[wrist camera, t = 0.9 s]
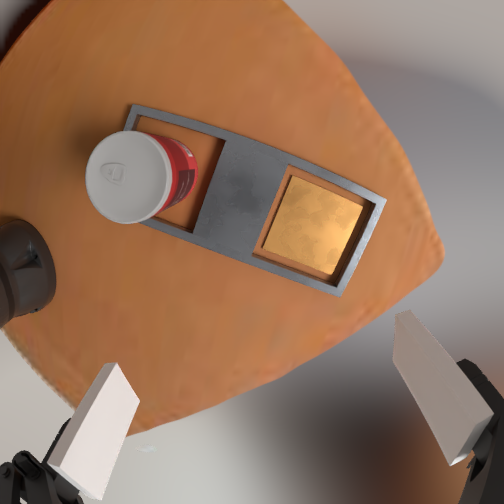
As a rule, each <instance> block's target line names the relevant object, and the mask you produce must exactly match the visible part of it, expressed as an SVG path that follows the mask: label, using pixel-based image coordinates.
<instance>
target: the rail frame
mask: <svg viewBox="0 0 504 504" xmlns="http://www.w3.org/2000/svg"><path fill="white" fill-rule="evenodd" d="M141 115H143V116H146V117H150V118H154V119H158V120H161V121H165V122H169V123H172V124H176V125H179V126H182V127H186V128H189V129H192V130H195V131H199V132H202V133H205V134H208V135H211V136H214V137H217V138H220V139H223V140H226V142H225V145H224V147H223V150H222V152H221V155H220V158H219V160H218V163H217V166H216V168H215V171H214V174H213V177H212V179H211V182H210V185H209V188H208V190H207V193H206V196H205V199H204V202H203V205H202V208H201V210H200V213H199V216H198V219H197V222H196V225H195V228H194V231H192V230H189V229H187V228H184V227H181V226H179V225H176V224H173V223H171V222H168V221H165V220H163V219H160V218H157V217H155V216H153V217H150V218H149V219H146V220H144V221H141V222H138V223H141V224H144V225H146V226H149V227H151V228H154V229H157V230H159V231H162V232H164V233H167V234H170V235H172V236H175V237H178V238H180V239H183V240H185V241H188V242H191V243H193V244H196V245H199V246H201V247H204V248H207V249H209V250H212V251H215V252H217V253H220V254H223V255H225V256H228V257H231V258H233V259H236V260H239V261H241V262H244V263H247V264H249V265H252V266H255V267H258V268H260V269H263V270H266V271H268V272H271V273H274V274H277V275H279V276H282V277H285V278H288V279H290V280H293V281H296V282H299V283H301V284H304V285H307V286H310V287H312V288H315V289H318V290H321V291H323V292H326V293H329V294H332V295H335V296H337V297H341V295H342V293H343V291H344V289H345V287H346V285H347V283H348V281H349V279H350V278H351V276H352V274H353V272H354V270H355V268H356V266H357V264H358V262H359V260H360V258H361V255H362V253H363V251H364V249H365V247H366V245H367V243H368V241H369V239H370V236H371V234H372V232H373V230H374V228H375V225H376V223H377V221H378V219H379V216H380V214H381V212H382V210H383V207H384V205H385V202H386V199H385V198H383V197H381V196H379V195H377V194H375V193H373V192H371V191H369V190H367V189H365V188H363V187H361V186H359V185H357V184H355V183H353V182H351V181H349V180H347V179H345V178H343V177H341V176H339V175H336V174H334V173H332V172H330V171H328V170H326V169H323V168H321V167H319V166H317V165H314V164H312V163H310V162H307V161H305V160H303V159H300V158H298V157H296V156H293V155H291V154H288V153H286V152H283V151H281V150H278V149H276V148H273V147H271V146H268V145H266V144H263V143H260V142H258V141H255V140H252V139H249V138H247V137H244V136H241V135H238V134H235V133H232V132H229V131H226V130H224V129H220V128H217V127H214V126H211V125H208V124H205V123H202V122H198V121H195V120H192V119H188V118H185V117H181V116H178V115H174V114H171V113H167V112H163V111H159V110H156V109H152V108H148V107H143V106H139V105H135V104H133V105H132V108H131V110H130V113H129V116H128V119H127V121H126V124H125V127H124V130H123V131H136V128H137V125H138V122H139V119H140V117H141ZM288 164H290V165H292V166H295V167H297V168H299V169H302V170H304V171H306V172H309V173H311V174H313V175H316V176H318V177H320V178H322V179H325V180H327V181H329V182H331V183H334V184H336V185H338V186H340V187H342V188H344V189H346V190H349V191H351V192H353V193H355V194H357V195H359V196H361V197H363V198H365V199H367V200H369V201H371V202H373V203H372V205H371V208H370V210H369V212H368V214H367V217H366V219H365V221H364V223H363V226H362V228H361V230H360V232H359V235H358V237H357V239H356V241H355V243H354V245H353V247H352V250H351V252H350V254H349V256H348V258H347V260H346V262H345V264H344V266H343V268H342V270H341V272H340V274H339V276H338V278H337V280H336V282H335V284H333V283H331V282H328V281H325V280H323V279H320V278H317V277H315V276H312V275H309V274H307V273H304V272H301V271H299V270H296V269H293V268H291V267H288V266H285V265H283V264H280V263H277V262H275V261H272V260H269V259H267V258H264V257H261V256H259V255H256V254H253V253H252V252H253V250H254V247H255V245H256V243H257V240H258V238H259V235H260V233H261V230H262V228H263V225H264V223H265V220H266V218H267V215H268V213H269V210H270V208H271V205H272V203H273V201H274V198H275V196H276V193H277V191H278V188H279V186H280V183H281V181H282V178H283V176H284V173H285V171H286V168H287V166H288ZM362 208H363V207H362V206H360V205H358V204H356V203H354V202H352V201H350V200H348V199H345V198H343V197H341V196H339V195H337V194H335V193H332V192H330V191H328V190H326V189H323V188H321V187H319V186H317V185H314V184H312V183H310V182H307V181H305V180H303V179H300V178H298V177H296V176H293V175H292V178H291V180H290V183H289V185H288V187H287V190H286V192H285V195H284V197H283V200H282V202H281V205H280V207H279V209H278V212H277V214H276V217H275V219H274V222H273V224H272V226H271V229H270V231H269V234H268V236H267V239H266V241H265V243H264V246H263V249H265V250H267V251H270V252H273V253H275V254H278V255H281V256H283V257H286V258H289V259H291V260H294V261H296V262H299V263H302V264H304V265H307V266H310V267H312V268H315V269H317V270H320V271H323V272H325V273H328V274H331V275H332V273H333V271H334V269H335V267H336V265H337V263H338V261H339V259H340V256H341V254H342V252H343V250H344V248H345V246H346V244H347V242H348V239H349V237H350V235H351V233H352V231H353V229H354V226H355V224H356V222H357V220H358V217H359V215H360V213H361V210H362Z"/></svg>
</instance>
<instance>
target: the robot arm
mask: <svg viewBox="0 0 504 504" xmlns="http://www.w3.org/2000/svg"><path fill="white" fill-rule="evenodd" d="M55 289H56V273H55V267H54V263H53V259H52V256H51V254H50V251H49V249H48V247H47V245H46V243H45V241H44V239H43V238H42V236H41V235H40V234H39V232H38V231H37V230H36V229H35V228H34V227H33V226H32V225H30V224H29V223H27V222H25V221H22V220H14V221H12V222H9V223H6V224H4V225H3V226H1V227H0V328H2V327H3V326H4V325H5V324H6V323H7V322H9V321H10V320H11V319H12V318H14V317H18V316H22V315H26V314H28V313H34V312H38V311H40V310H41V309H43V308H44V307H45V306H46V305H48V304H49V303H50V302H51V300H52V299H53V297H54V294H55ZM393 362H394V364H395V366H396V367H397V369H398V371H399V372H400V374H401V376H402V378H403V379H404V381H405V383H406V384H407V386H408V388H409V390H410V391H411V393H412V395H413V397H414V398H415V400H416V402H417V404H418V406H419V407H420V409H421V411H422V413H423V415H424V417H425V419H426V420H427V422H428V424H429V426H430V428H431V430H432V432H433V434H434V436H435V438H436V440H437V442H438V443H439V445H440V447H441V449H442V451H443V453H444V455H445V458H446V460H447V462H448V464H449V466H451V465H453V464H455V463H457V462H459V461H461V460H462V459H464V458H466V457H467V456H468V454H469V453H470V452H471V450H473V451H474V453H475V456H474V457H473V458H472V460H471V461H470V463H469V464H468V466H467V468H469V467H470V466H471V469H470V472H469V475H468V478H467V481H466V484H465V487H464V490H463V493H462V495H461V498H460V501H459V503H458V504H504V399H503V397H502V396H501V395H500V394H499V392H498V391H497V390H496V389H495V387H494V386H493V385H492V384H491V382H490V381H488V379H487V377H486V376H485V375H484V374H482V372H481V370H480V369H479V368H478V367H477V365H476V364H474V363H472V362H471V361H469V360H467V359H463V360H462V361H459V362H457V363H455V361H454V360H453V359H452V358H451V357H450V355H449V354H448V353H447V352H446V351H445V350H444V348H443V347H442V346H441V345H440V343H439V342H438V341H437V340H436V339H435V338H434V337H433V335H432V334H431V333H430V332H429V331H428V329H427V328H426V327H425V326H424V325H423V324H422V323H421V322H420V320H419V319H418V318H417V317H416V316H415V315H414V314H413V313H412V312H411V310H408V311H405V312H402V313H399V314H396V315H395V334H394V350H393ZM139 402H140V400H139V399H138V397H137V396H136V394H135V393H134V391H133V389H132V388H131V386H130V385H129V383H128V381H127V380H126V378H125V376H124V375H123V373H122V371H121V369H120V368H119V366H118V364H117V363H105V364H104V366H103V367H102V369H101V370H100V372H99V373H98V375H97V377H96V378H95V380H94V381H93V383H92V385H91V386H90V388H89V389H88V391H87V393H86V394H85V396H84V398H83V399H82V401H81V403H80V404H79V406H78V408H77V409H76V411H75V413H74V415H73V416H72V418H69V419H68V420H67V421H66V422H65V423H64V424H63V426H62V427H61V429H60V431H59V434H57V436H56V438H55V440H54V441H53V443H52V445H51V447H50V448H49V450H48V452H47V454H46V456H45V458H44V459H43V461H42V463H40V462H39V461H38V460H37V459H36V458H35V457H34V456H33V455H32V454H30V452H28V451H25V450H24V451H20V452H19V453H17V454H16V455H15V456H14V458H13V460H12V463H10V462H5V463H3V464H2V465H1V466H0V504H21V503H20V497H21V498H22V499H23V500H25V501H26V502H27V504H84V503H83V500H82V498H81V497H80V496H79V495H78V493H79V491H81V492H82V493H83V494H85V495H86V496H87V497H90V498H93V499H96V500H99V501H101V500H102V497H103V494H104V492H105V489H106V486H107V483H108V481H109V478H110V475H111V472H112V470H113V467H114V464H115V462H116V459H117V456H118V454H119V451H120V449H121V446H122V444H123V441H124V439H125V436H126V434H127V431H128V429H129V426H130V424H131V421H132V419H133V416H134V414H135V411H136V409H137V406H138V404H139Z"/></svg>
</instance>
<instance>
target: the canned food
mask: <svg viewBox="0 0 504 504" xmlns="http://www.w3.org/2000/svg"><path fill="white" fill-rule="evenodd" d="M197 177H198V167H197V162H196V159H195V157H194V155H193V153H192V152H191V150H190V149H189V148H188V147H187V146H186V145H184V144H182V143H181V142H179V141H176V140H174V139H170V138H166V137H162V136H158V135H153V134H149V133H145V132H138V131H121V132H117V133H114V134H111V135H110V136H108V137H106V138H104V139H103V140H102V141H101V142H100V143H99V144H98V145H97V146H96V147H95V149H94V150H93V152H92V154H91V155H90V157H89V160H88V163H87V166H86V173H85V184H86V189H87V193H88V195H89V198H90V200H91V202H92V204H93V205H94V207H95V208H96V209H97V210H98V211H99V212H100V213H101V214H102V215H103V216H105V217H106V218H108V219H110V220H112V221H114V222H118V223H121V224H132V223H137V222H141V221H144V220H146V219H149V218H150V217H153V216H155V215H156V214H158V213H160V212H162V211H164V210H166V209H167V208H169V207H171V206H173V205H175V204H177V203H179V202H180V201H182V200H183V199H185V198H186V197H187V196H188V195H189V194H190V193H191V192H192V190H193V189H194V187H195V184H196V182H197Z"/></svg>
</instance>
